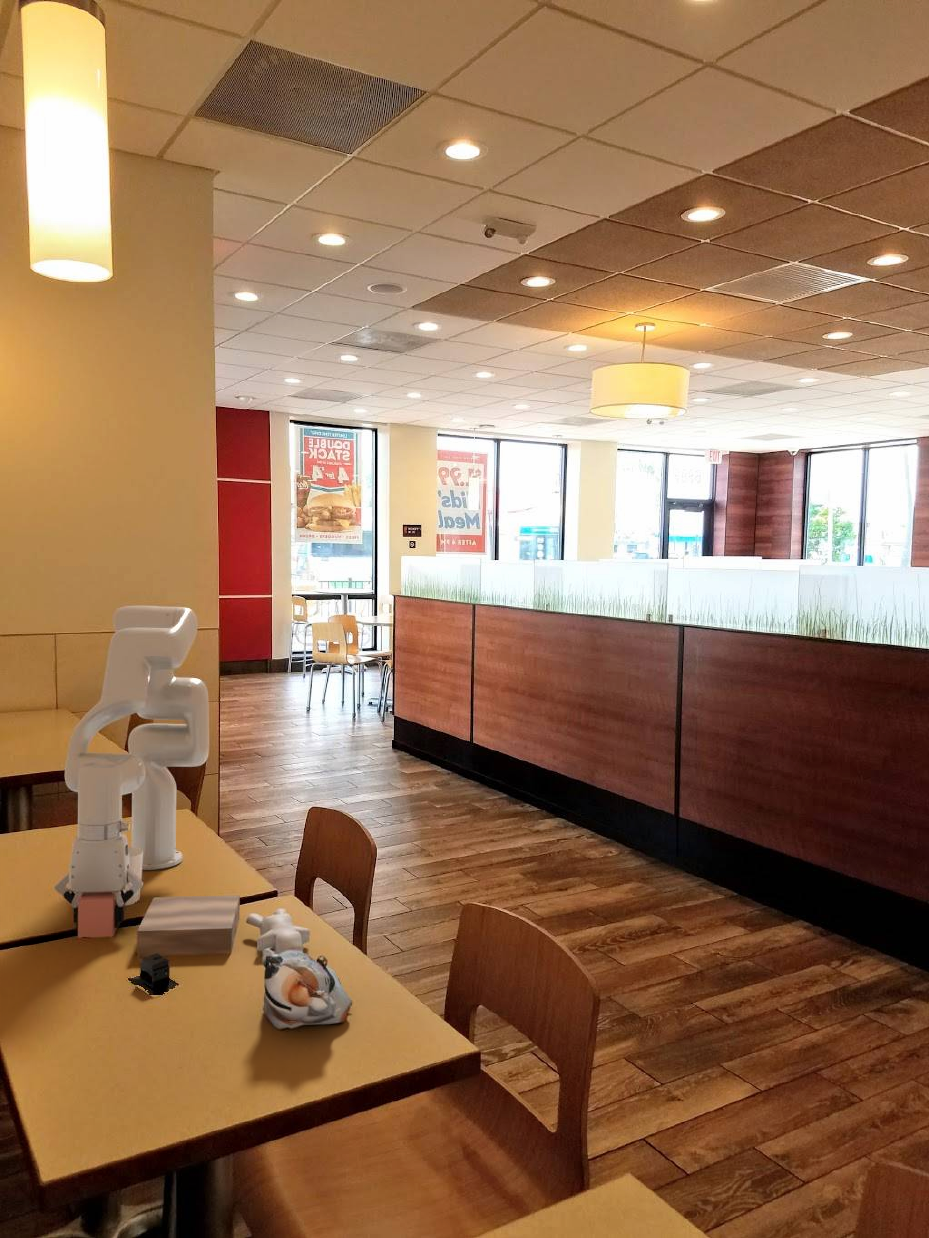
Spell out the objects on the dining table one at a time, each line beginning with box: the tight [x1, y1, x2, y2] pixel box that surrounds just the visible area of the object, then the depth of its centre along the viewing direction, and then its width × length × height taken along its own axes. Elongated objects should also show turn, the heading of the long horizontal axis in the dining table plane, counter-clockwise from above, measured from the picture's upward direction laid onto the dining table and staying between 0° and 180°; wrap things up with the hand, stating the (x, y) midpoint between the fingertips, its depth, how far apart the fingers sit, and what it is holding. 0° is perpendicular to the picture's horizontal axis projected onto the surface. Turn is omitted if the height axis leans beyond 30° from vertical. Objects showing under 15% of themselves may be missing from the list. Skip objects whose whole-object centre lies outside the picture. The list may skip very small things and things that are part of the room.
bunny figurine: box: [245, 908, 311, 954], centre depth 167 cm, size 10×5×15 cm
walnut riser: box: [136, 894, 241, 957], centre depth 170 cm, size 16×16×5 cm
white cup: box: [124, 845, 143, 907], centre depth 186 cm, size 8×8×10 cm
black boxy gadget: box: [127, 953, 180, 996], centre depth 151 cm, size 12×7×5 cm, turn 48°
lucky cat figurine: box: [261, 947, 354, 1030], centre depth 140 cm, size 15×12×14 cm
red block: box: [77, 892, 118, 939], centre depth 171 cm, size 6×6×7 cm
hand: (99, 924), depth 171 cm, fingers closed on red block, 6 cm apart
